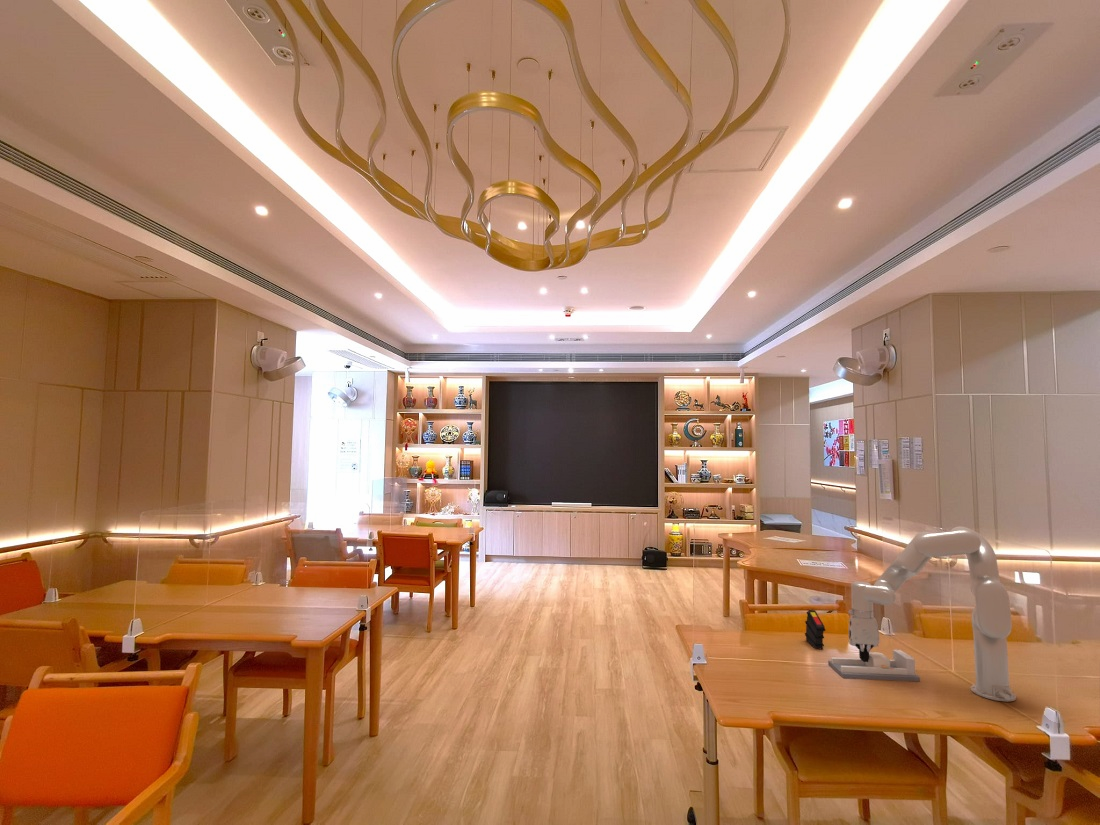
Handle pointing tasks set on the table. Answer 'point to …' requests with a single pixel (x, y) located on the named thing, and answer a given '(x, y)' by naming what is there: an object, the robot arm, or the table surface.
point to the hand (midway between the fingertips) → (864, 660)
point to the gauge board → (877, 668)
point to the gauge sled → (878, 660)
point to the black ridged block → (814, 630)
